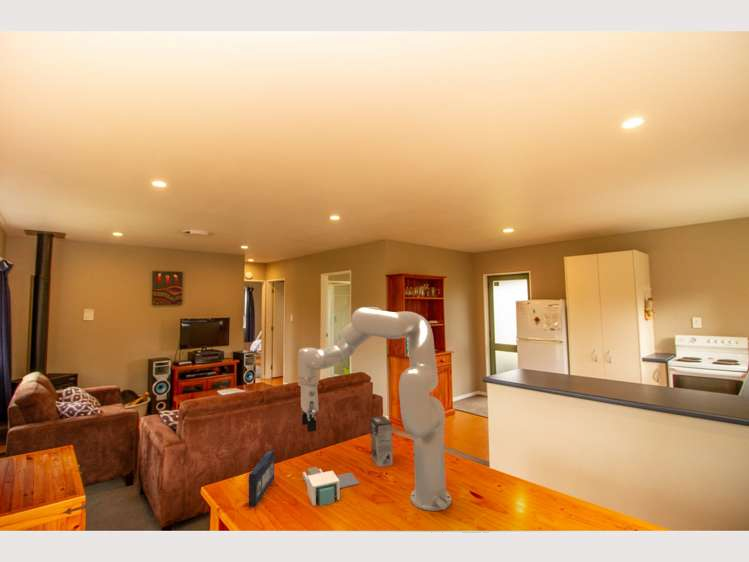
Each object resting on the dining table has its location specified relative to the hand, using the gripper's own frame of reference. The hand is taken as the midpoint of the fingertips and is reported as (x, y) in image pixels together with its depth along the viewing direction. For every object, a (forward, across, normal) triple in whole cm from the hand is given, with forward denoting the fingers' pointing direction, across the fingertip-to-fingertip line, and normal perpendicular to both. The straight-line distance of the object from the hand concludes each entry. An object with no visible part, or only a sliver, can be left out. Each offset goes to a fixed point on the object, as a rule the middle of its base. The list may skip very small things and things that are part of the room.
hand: (308, 427), depth 136 cm
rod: (+16, -12, 0) cm, 20 cm away
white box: (+16, -14, 0) cm, 21 cm away
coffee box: (+16, -4, -28) cm, 33 cm away
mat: (+16, -13, -9) cm, 23 cm away
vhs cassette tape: (+16, -8, +18) cm, 25 cm away
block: (+16, -22, 0) cm, 28 cm away
